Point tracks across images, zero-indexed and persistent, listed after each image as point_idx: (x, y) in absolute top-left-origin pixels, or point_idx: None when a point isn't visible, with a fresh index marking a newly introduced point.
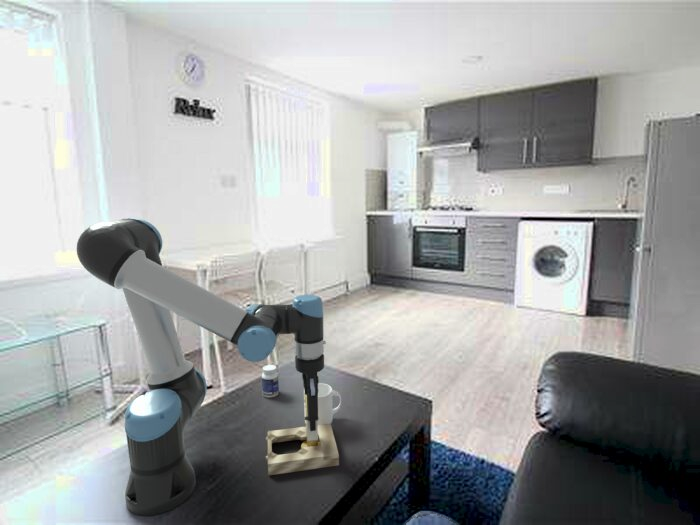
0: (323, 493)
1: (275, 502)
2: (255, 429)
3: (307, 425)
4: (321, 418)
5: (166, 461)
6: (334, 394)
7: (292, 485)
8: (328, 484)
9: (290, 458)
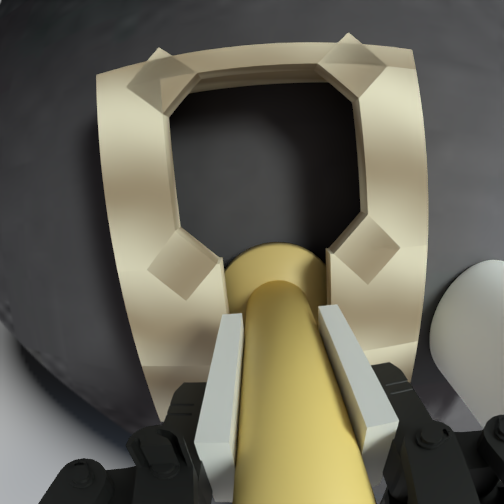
0: (39, 317)
1: (4, 153)
2: (466, 30)
3: (205, 389)
4: (452, 363)
5: None
6: None
7: (62, 205)
8: (75, 339)
9: (125, 194)
